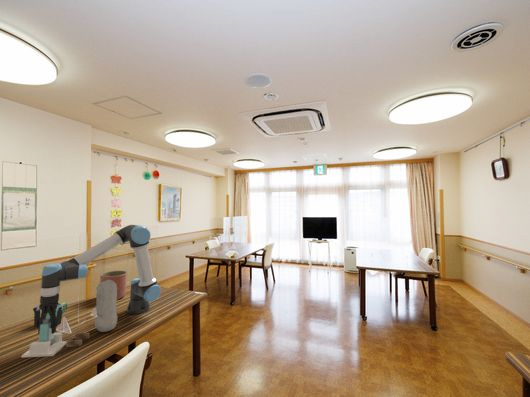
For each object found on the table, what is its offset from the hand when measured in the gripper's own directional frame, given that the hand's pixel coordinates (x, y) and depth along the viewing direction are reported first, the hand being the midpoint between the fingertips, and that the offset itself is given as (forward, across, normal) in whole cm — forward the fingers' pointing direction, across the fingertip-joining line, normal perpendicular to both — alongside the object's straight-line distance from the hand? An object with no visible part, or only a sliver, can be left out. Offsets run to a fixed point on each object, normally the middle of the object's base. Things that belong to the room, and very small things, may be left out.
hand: (46, 339), depth 127 cm
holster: (+5, -12, -6) cm, 15 cm away
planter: (+5, 0, -74) cm, 74 cm away
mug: (+5, +18, -35) cm, 40 cm away
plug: (+1, 0, 0) cm, 1 cm away
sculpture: (+5, -20, -19) cm, 28 cm away
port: (+5, 0, 0) cm, 5 cm away
